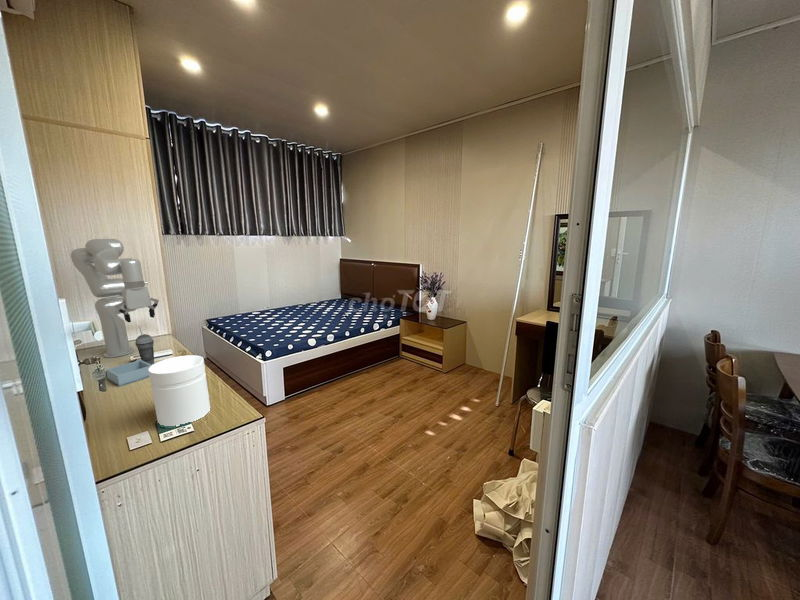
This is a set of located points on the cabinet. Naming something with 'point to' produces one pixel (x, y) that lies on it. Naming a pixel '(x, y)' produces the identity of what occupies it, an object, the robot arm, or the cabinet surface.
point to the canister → (179, 390)
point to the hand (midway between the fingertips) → (140, 319)
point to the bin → (128, 373)
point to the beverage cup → (145, 347)
